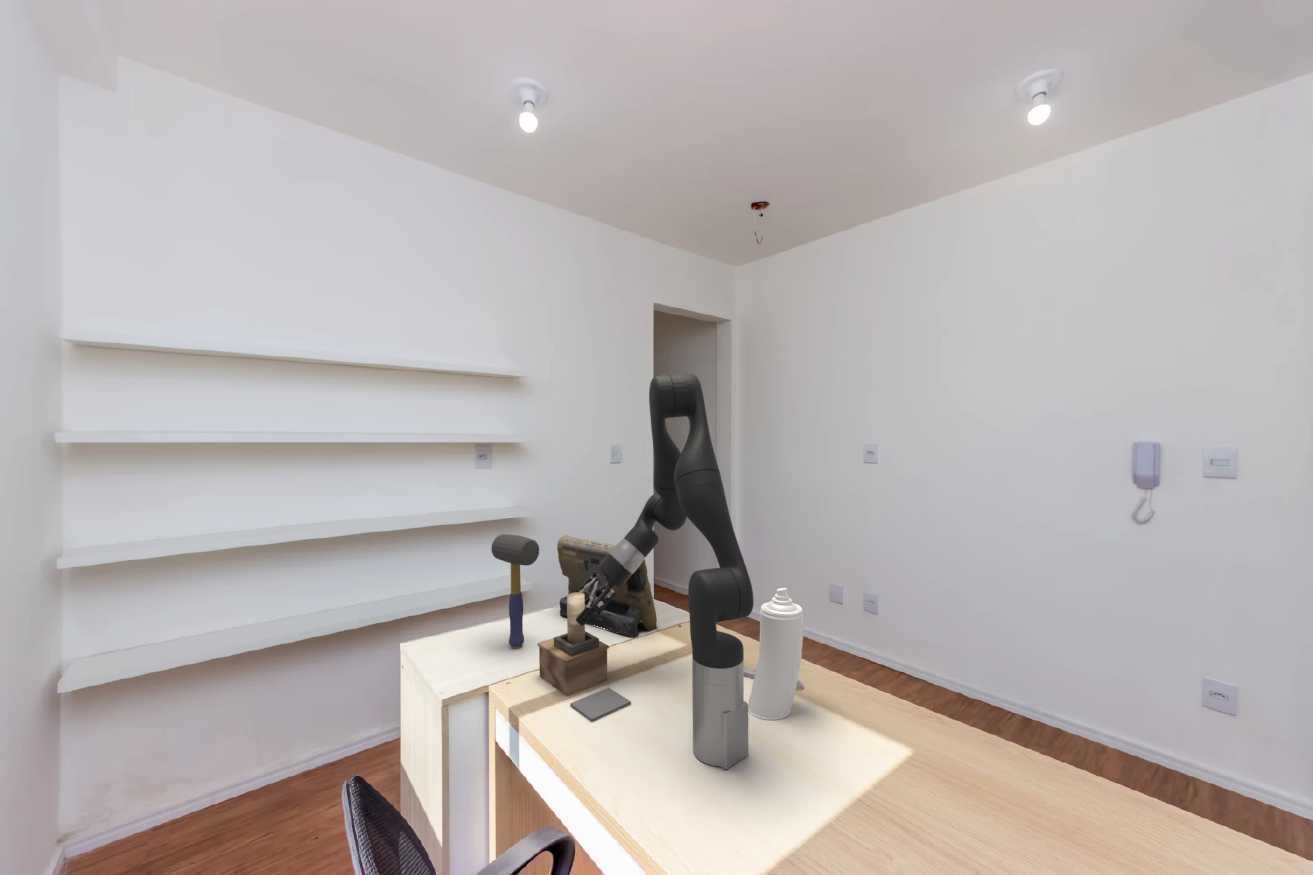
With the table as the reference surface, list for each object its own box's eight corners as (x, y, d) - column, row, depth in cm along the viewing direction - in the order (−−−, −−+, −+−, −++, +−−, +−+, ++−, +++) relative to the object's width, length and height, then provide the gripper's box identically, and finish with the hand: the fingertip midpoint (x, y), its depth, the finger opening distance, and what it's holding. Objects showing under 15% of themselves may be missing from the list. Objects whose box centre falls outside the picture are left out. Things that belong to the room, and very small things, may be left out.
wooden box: (609, 679, 122) (608, 637, 122) (566, 697, 114) (565, 651, 114) (579, 661, 131) (579, 622, 131) (537, 676, 124) (537, 634, 124)
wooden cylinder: (588, 646, 121) (587, 595, 121) (573, 651, 119) (573, 599, 118) (579, 641, 124) (578, 591, 124) (564, 646, 122) (563, 594, 121)
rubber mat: (631, 704, 111) (631, 701, 111) (591, 722, 105) (591, 719, 105) (608, 689, 117) (608, 687, 117) (570, 705, 111) (570, 703, 111)
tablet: (664, 624, 156) (663, 540, 155) (638, 640, 144) (637, 550, 143) (579, 604, 173) (578, 529, 172) (549, 618, 161) (548, 537, 160)
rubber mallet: (490, 645, 141) (488, 535, 140) (512, 636, 147) (511, 530, 146) (520, 657, 134) (519, 541, 133) (543, 647, 140) (541, 535, 139)
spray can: (760, 688, 118) (760, 577, 117) (808, 700, 112) (808, 584, 112) (741, 712, 108) (740, 592, 107) (792, 727, 102) (792, 601, 102)
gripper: (602, 545, 131) (557, 597, 127) (619, 559, 117) (569, 617, 114) (623, 564, 133) (579, 615, 129) (642, 580, 119) (593, 638, 116)
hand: (574, 616), depth 121 cm, fingers open, 8 cm apart
